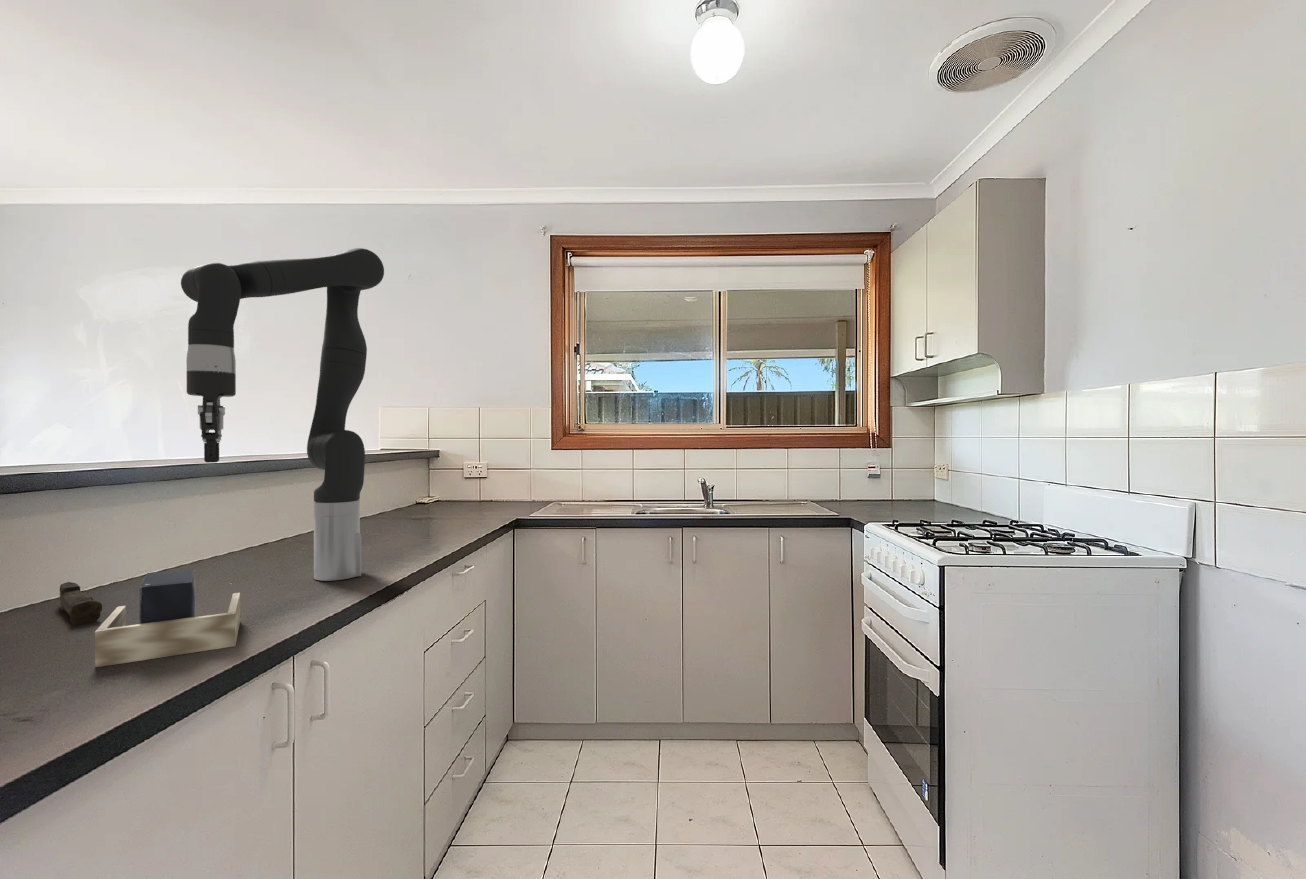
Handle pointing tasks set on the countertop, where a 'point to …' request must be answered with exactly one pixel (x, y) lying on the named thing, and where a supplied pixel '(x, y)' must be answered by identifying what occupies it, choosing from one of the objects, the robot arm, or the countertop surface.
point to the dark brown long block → (78, 604)
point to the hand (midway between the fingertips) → (211, 462)
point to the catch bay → (164, 636)
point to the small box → (167, 596)
